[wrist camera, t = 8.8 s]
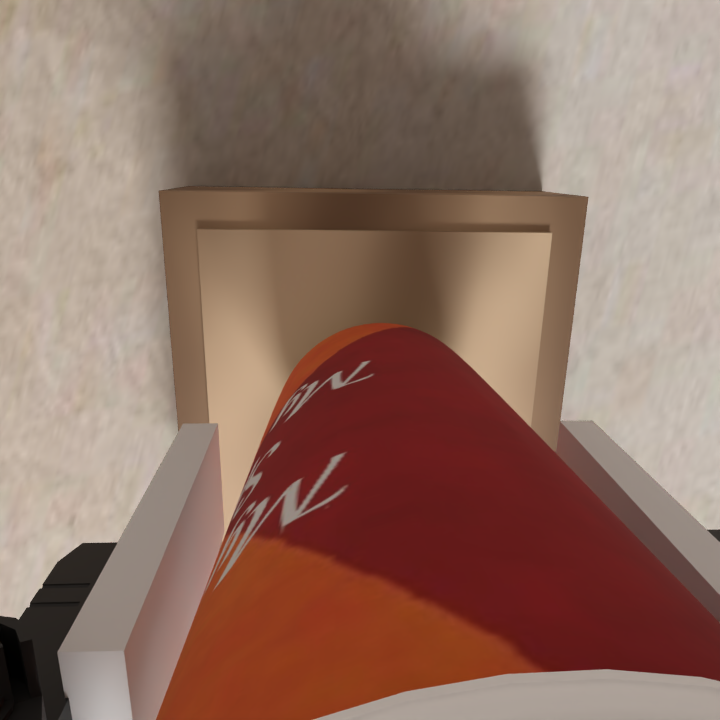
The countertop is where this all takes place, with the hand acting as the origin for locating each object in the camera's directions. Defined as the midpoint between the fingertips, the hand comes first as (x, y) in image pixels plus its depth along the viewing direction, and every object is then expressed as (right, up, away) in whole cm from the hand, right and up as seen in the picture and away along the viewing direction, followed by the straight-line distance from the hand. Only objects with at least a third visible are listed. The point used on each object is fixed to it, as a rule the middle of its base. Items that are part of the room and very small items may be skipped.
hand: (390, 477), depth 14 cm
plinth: (0, +3, +9) cm, 9 cm away
